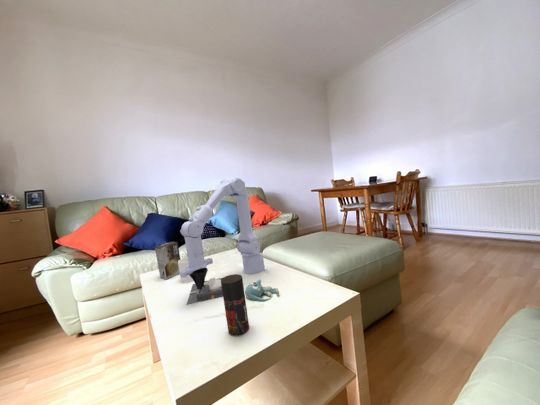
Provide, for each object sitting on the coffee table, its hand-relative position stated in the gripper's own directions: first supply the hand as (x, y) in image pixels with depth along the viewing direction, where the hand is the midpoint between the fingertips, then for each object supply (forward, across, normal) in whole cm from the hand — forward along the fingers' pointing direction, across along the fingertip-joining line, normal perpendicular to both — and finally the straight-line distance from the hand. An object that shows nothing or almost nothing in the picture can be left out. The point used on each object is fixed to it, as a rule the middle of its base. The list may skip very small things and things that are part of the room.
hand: (200, 288), depth 89 cm
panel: (+4, +6, 0) cm, 7 cm away
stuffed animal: (+4, +7, -22) cm, 24 cm away
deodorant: (+4, -11, -25) cm, 28 cm away
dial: (+3, +5, -1) cm, 5 cm away
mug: (+4, +14, +18) cm, 23 cm away
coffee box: (+4, +15, +36) cm, 39 cm away
